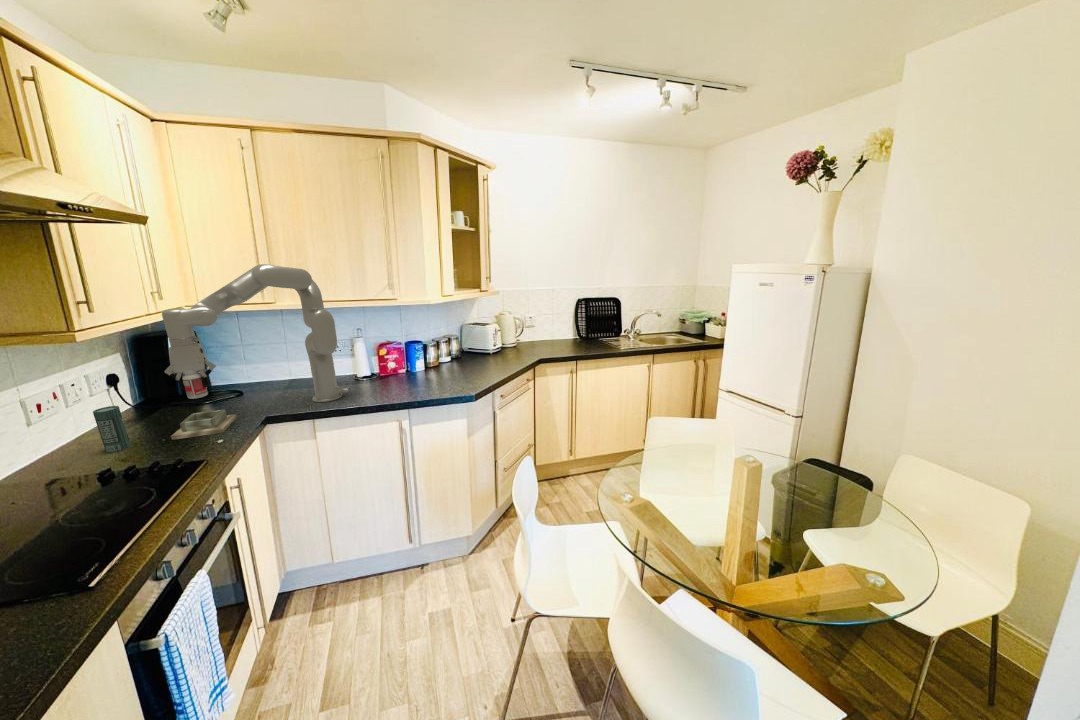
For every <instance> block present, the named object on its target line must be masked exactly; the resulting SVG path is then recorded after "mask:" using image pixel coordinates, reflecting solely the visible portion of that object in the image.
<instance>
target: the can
mask: <svg viewBox="0 0 1080 720" xmlns="http://www.w3.org/2000/svg"><path fill="white" fill-rule="evenodd" d="M92 414H93V417H94V420H95V424H96V426H97V429H98V433H99V436H100V439H101V442H102V445H103V448H104V451H105V453H110V454H111V452H112V453H116V452H117V453H118V452H120V451H123V450H126V449H129V448H130V447H131V446H132V445H131V441H130V438H129V435H128V432H127V429H126V425H125V422H124V419H123V415H122V412H121V410H120V406H118V405H109V406H105V407H101V408H97V409H95V410H92Z"/></svg>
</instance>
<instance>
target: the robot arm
mask: <svg viewBox="0 0 1080 720" xmlns="http://www.w3.org/2000/svg"><path fill="white" fill-rule="evenodd" d="M268 287H273V288H279V289H280V288H281V289H290V290H291V289H292V290H294V291H296V293H297V294H298V296H299V299H300V302H301V303H300V304H301V309H302V310H301V311H302V317H303V323H304V325H306V326H307V327H308V328H309V329H311V332H310V333H308V334H307V335H306V337H305V340H304V345H305V350H306V353H307V356H308V361H309V365H310V366H309V367H310V370H311V377H312V382H313V388H314V395H313V397H312V398H311V400H312V402H315V403H326V402H327V403H328V402H332V401H336V400H338V399H340V398H342V397H343V394H345V393H346V394H347V393H349V388H348V387H341V388H340V386H339V385H338V382H337V377H336V376H337V375H336V371H335V363H334V358H333V357H334V356H333V353H334V352H336V350H337V347H338V337H337V331H336V330H337V329H336V323H335V319H334V316H333V315H332V313H331V312H330V311H329V310H326V309H325V306H324V301H323V295H322V291H321V290H320V288H319V285H318V284H317V283H316V282H315V281H314V279H313V277H312V275H311V274H310V272H308V271H307V270H305V269H303V268H297V267H289V266H281V265H280V266H279V265H273V264H265V263H263V264H257V265H255V266H253V267H252V268H250V269H249V270H247V271H246V272H244V273H242V274H241V275H239V276H238V277H237V278H235V279H233V280H231V282H229V283H227V284H225V285H224V286H222V287H220V289H218V290H216V291H214V292H213V293H211V294H210V295H208V296H206V297H204V298H203V299H201V300H199V302H197V303H195V304H194V305H193V306H191V307H190V308H182V307H180V308H179V307H178V308H176V307H175V308H169V309H164V310H162V313H161V317H162V320H163V324H164V327H165V330H166V334H167V338H168V342H169V347H168V356H169V364H170V365H169V366H168V367H166V369H165V370H163V371H164V373H165V374H166V375H168V376H170V377H171V378H173V379H175V381H177V383H178V385H179V388H180V389H181V391H186V390H185V386H184V383H183V379H182V377H183V376H184V375H185V374H184V372H185V371H188V370H192V371H199V373H200V374H201V375H202V376H203V377H202V382H203V386H204V387H206V388H208V387H209V386H210V384H211V381H210V377H209V375H211V373H212V372H213V371H214V369H215V368H216V367H217V366H216V364H214V363H213V362H211V361H209V360H208V359H207V356H206V355H207V354H206V353H205V351H204V348H203V346H202V345H201V343H198V342H201V340H202V338H201V337H197V336H196V334H195V331H194V327H209V326H212V325H214V324H215V323H217V320H218V316H219V315H220V314H221V313H223V312H225V311H227V310H228V309H231V308H232V307H234V306H238V305H241V304H243V303H245V302H247V301H250V299H251V298H253V297H255V295H257V294H259V293H260V292H261V291H263V290H264V289H266V288H268ZM206 368H208V369H206Z"/></svg>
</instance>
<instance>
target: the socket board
mask: <svg viewBox="0 0 1080 720" xmlns="http://www.w3.org/2000/svg"><path fill="white" fill-rule="evenodd" d="M237 418H238V415H237V414H234V413H233V414H228V415H227V412H226V409H225V408H224V409H216V410H208V411H202V412H193V413H191V414H190V415H189V416H187V417H186V418H184V420H183V421H182V422H180V423H179V426H180V428H179V429H177V430H176V431H175V432H174V433H173V434H172V435H170V438H171V440H172V441H173V440H179V439H181V440H182V439H187V438H194V437H200V436H208V435H209V436H210V435H214V434H215V435H216V434H222V433H224V432H225V431H226V430H227V429H228V428H229V427H230V426H231V425H232V424H233V423H234V422H235V420H237ZM232 422H233V423H232ZM231 423H232V424H231ZM230 424H231V425H230Z"/></svg>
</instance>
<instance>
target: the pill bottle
mask: <svg viewBox="0 0 1080 720" xmlns="http://www.w3.org/2000/svg"><path fill="white" fill-rule="evenodd" d="M202 377H203V376H202V375H201V374H200V373H199V371H192V370H188V371H185V372H184V375H183V377H182V379H183V383H184V386H185V390H184V391H185V393H186V396H187V398H188V399H191V400H192V399H193V400H194V399H199V398H205V397H206V396H208V394H209V391H208V387H204V386H203V382H202Z"/></svg>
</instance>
